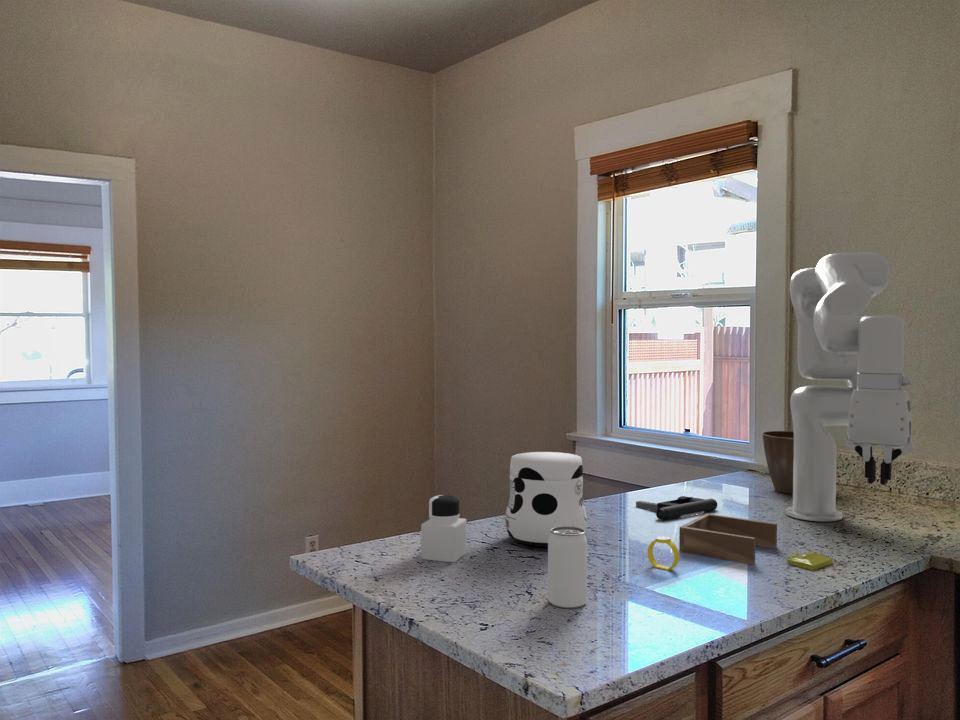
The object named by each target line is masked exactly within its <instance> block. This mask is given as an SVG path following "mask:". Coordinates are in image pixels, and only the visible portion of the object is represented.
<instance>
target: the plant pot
mask: <svg viewBox="0 0 960 720" xmlns="http://www.w3.org/2000/svg"><path fill="white" fill-rule="evenodd" d="M761 434H762V442H763V448H764V449H763V451H764V455H765V460H766V464H767V469H768V472H769V476H770V479H771V482H772V484H773V487H774V490H775V492H779V493H783V494H791V495H793V462H794V431H793V430H791V431H790V430H772V431H771V430H769V431H763V432H762V433H761Z"/></svg>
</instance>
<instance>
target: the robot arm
mask: <svg viewBox="0 0 960 720" xmlns="http://www.w3.org/2000/svg"><path fill="white" fill-rule="evenodd" d="M890 275H891V270H890V266H889V263H888V260H887V258H886V257H884V256H883V255H882V254H880V253H878V252H873V251H871V252H870V251H869V252H868V251H866V252H834V253H830V254H826V255H825V256H823V257H822V258H821V259H819V261H818V262H817V264H816V267H807V268H803V269H798V270H797V271H795V272H794V273H793V274H792V276H791V278H790V283H789V294H790V295H789V296H790V300H791V305H792V307H793V309H794V313H795V316H796V320H797V369H798V373H799V375H800V377H802V378H804V379H808V380H813V381H814V380H815V381H845V382H846V385H847V386H846V385H844V386H843V385H804V386H800V387H798V388H796V389H795V390H793V392H792V393H791V396H790V400H789V401H790V402H789V406H790V412H791V417H792V418H791V419H792V426H793V427H792V428H793V429H792V431H794V462H793V494H792V506H787V507H786V509H785V514H786V516H787V515H788V516H789V517H791V518H794V519H798V520H802V521H803V520H804V521H811V522H824V523H825V522H836V521H840V520H842V519H843V513H842V511H839V510H837V509H836V500H837V499H836V497H837V495H836V492H837V491H836V490H837V486H836V485H837V444H836V441H835V439H834V438H833V436H832V435H831V434H830V433H829V432H828V431H827V428H826V427H831V426H836V427H838V426H840V427H845V426H846V427H847V435H846V437H845V439H844V442H843V446H844V447H845V448H847V449H849V450H852V451H855V452H856V453H857V454H858V455H859V457H861V459H862V461H864V478H866V479H867V484H874V483H875V482H876V472H877V471H876V469H877V461H876V460H875V457H874V454H873V453H874V450H873V449H874V448H873V446H884V452H883V453H884V454H883V455H884V456H883V459H882V462H880V472H879V474H880V476H879V477H880V479H879V481H880V482H879V483H880V484H881V485H882V486H886V485H887V484H888V481H891V480H892V464H893V463H892V462H893V461H894V460H896V459H897V458H898V457H899V456H902V455H906V454H911V453H914V451H916V446H915V444H914V441H913V439H912V435H913V434H912V432H913V430H912V426H913V425H912V409H911V401H910V395H909V391H907V390H904V388H905V387H908V386H912V385H913V378H912V377H908V376H906V375H905V373H904V358H905V357H904V354H905V321H904V319H903V318H902V317H900V316H898V315H885V314H884V315H883V314H882V315H881V314H874V315H873V314H860V313H862V312H863V311H865V310H866V308H867V307H868V306H869V305H870V303H871V301H872V299H874V298H875V297H877V296H878V295H880V293H882V292H883V291H884V290H885V289H886V288H887V286H888V284H889V281H890V277H891V276H890ZM896 447H897V448H896Z"/></svg>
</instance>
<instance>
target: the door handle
mask: <svg viewBox="0 0 960 720" xmlns="http://www.w3.org/2000/svg"><path fill="white" fill-rule="evenodd" d="M635 507H636V508H639V509H643V510H647V511H651V512H655V515H656V518H657V519H658V520H660V521H661V520H662V521H666V520H673V519H676V518H677V517H678V518H679V517H680V518H679V519H682V518H681V517H685V518H687V517H686V516H690V517H692V516H691V515H695V516H697V515H696V514H700V515H703V514H702V513H704V514H705V513H708V512H712V511H715V510H716V509H717V508H718V501H717V500H716V499H714V498H707V499H705V498H698V497H693V496H686V495H685V496H684V495H682V496H679V497H677V498H676V499H673V500H667V501H661V502H657V503H655V502H649V501H643V500H637V501H635Z"/></svg>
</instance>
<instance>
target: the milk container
mask: <svg viewBox="0 0 960 720" xmlns="http://www.w3.org/2000/svg"><path fill="white" fill-rule="evenodd" d="M583 470H584V469H583V460H582V456H580V455H577V454H575V453H569V452H568V453H567V452H558V451H555V452H554V451H530V452H522V453H517V454H514V455H512V456H511V457H510V465H509V499H508V503H507V506H506V511H505V521H504V522H505V527H506V532H507V534H508V536H509V537H510V538H511V539H513V540H514V541H516V542H519V543H520V544H524V545H530V546H535V547H548V539H549V536H550V534H551V529H553V528H555V527H564V526H568V527H577V528H581V529H583V530H584V531H585V533H584V534H586V532H587V531H586V530H587V523H588V517H587V510H586V507H585V503H584V497H583V492H584V491H583V489H584V488H583V487H584V477H583Z"/></svg>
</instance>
